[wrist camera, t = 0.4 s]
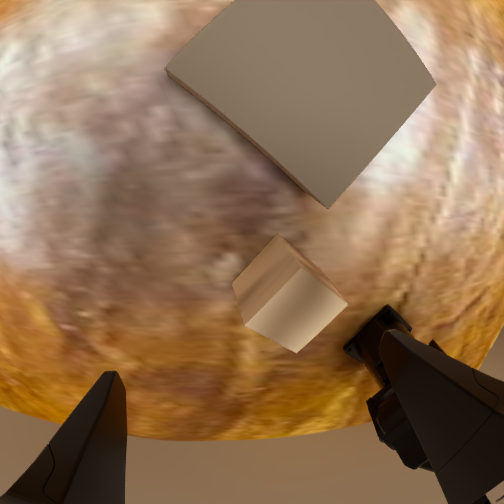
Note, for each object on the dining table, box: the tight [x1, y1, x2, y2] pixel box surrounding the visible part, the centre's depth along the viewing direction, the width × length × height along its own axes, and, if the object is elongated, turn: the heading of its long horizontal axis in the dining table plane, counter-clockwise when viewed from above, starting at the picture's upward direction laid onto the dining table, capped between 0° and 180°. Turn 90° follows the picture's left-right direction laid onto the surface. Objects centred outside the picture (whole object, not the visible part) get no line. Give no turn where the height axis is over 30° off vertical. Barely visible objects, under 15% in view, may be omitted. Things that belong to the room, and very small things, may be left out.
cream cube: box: [232, 234, 348, 353], centre depth 21 cm, size 5×5×5 cm
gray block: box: [165, 0, 436, 209], centre depth 15 cm, size 12×12×4 cm
